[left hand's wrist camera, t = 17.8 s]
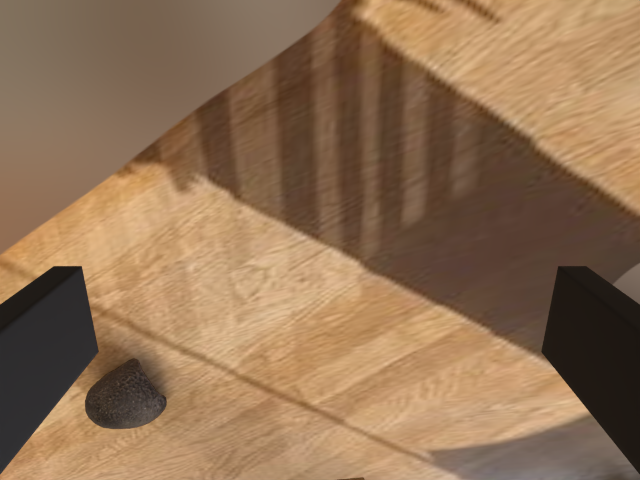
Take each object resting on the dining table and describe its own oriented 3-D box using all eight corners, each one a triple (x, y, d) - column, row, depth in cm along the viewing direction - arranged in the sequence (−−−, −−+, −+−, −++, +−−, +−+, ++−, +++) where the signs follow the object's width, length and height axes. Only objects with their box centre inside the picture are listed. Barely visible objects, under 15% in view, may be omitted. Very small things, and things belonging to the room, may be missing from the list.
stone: (181, 360, 65) (133, 350, 57) (181, 423, 62) (129, 422, 53) (125, 373, 68) (71, 365, 59) (122, 434, 64) (64, 434, 56)
